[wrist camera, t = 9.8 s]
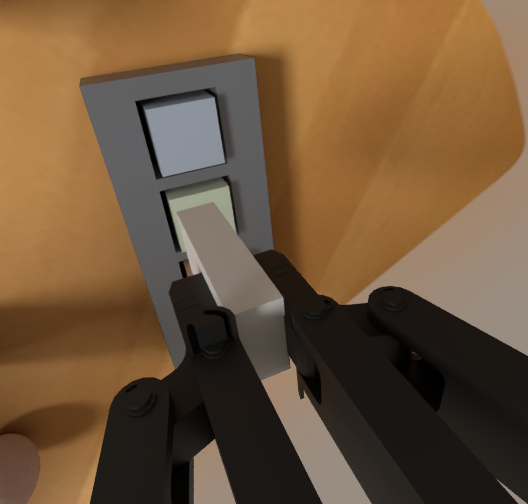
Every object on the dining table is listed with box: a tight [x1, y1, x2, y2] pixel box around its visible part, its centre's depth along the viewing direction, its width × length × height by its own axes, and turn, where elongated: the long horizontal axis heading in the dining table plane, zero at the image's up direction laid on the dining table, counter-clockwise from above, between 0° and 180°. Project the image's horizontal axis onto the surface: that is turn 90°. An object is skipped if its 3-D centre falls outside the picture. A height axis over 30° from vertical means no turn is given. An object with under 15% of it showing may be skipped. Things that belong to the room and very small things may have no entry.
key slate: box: [140, 89, 225, 177], centre depth 25 cm, size 4×4×4 cm
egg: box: [0, 433, 40, 504], centre depth 32 cm, size 5×5×7 cm
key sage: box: [163, 177, 236, 252], centre depth 28 cm, size 4×4×4 cm
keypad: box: [79, 54, 274, 369], centre depth 30 cm, size 10×24×3 cm, turn 6°
